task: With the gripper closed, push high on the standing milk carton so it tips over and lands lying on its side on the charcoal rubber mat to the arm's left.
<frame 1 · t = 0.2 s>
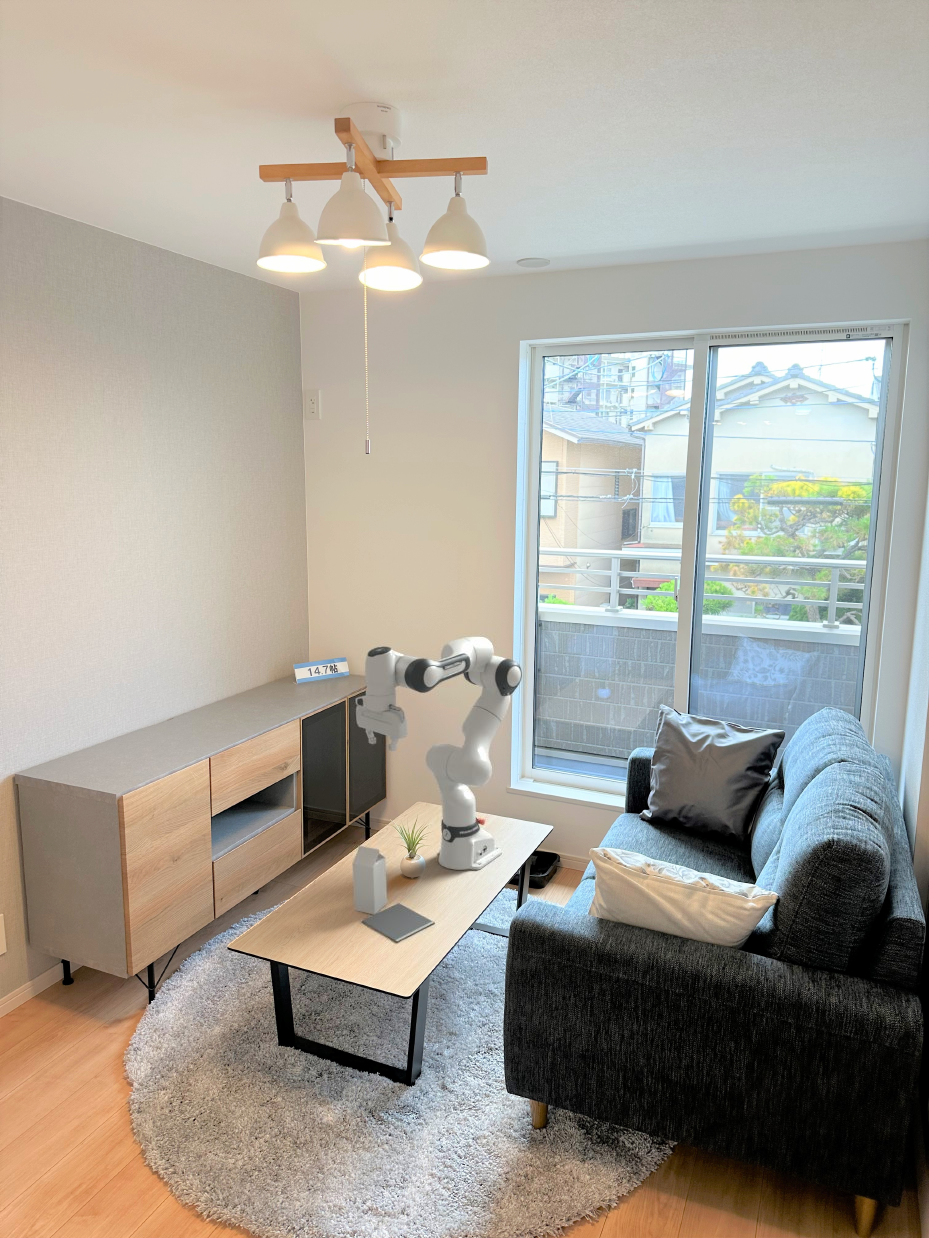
hand: (382, 746, 248), 47 cm above the table, fingers open, 8 cm apart
mat: (398, 922, 239), on the table
milk carton: (370, 907, 248), on the table
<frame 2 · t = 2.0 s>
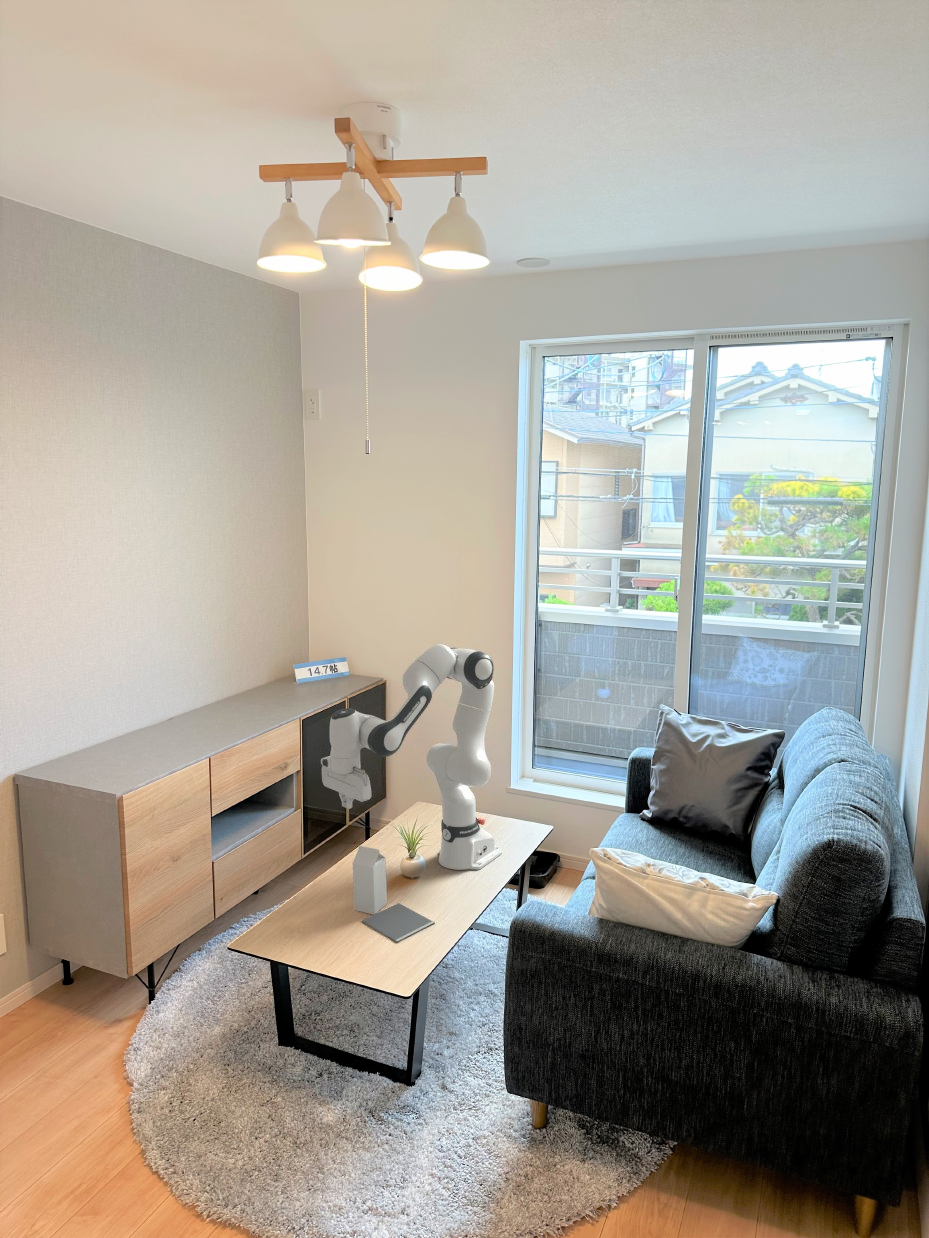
hand: (347, 807, 250), 29 cm above the table, fingers closed
nothing on the table moved.
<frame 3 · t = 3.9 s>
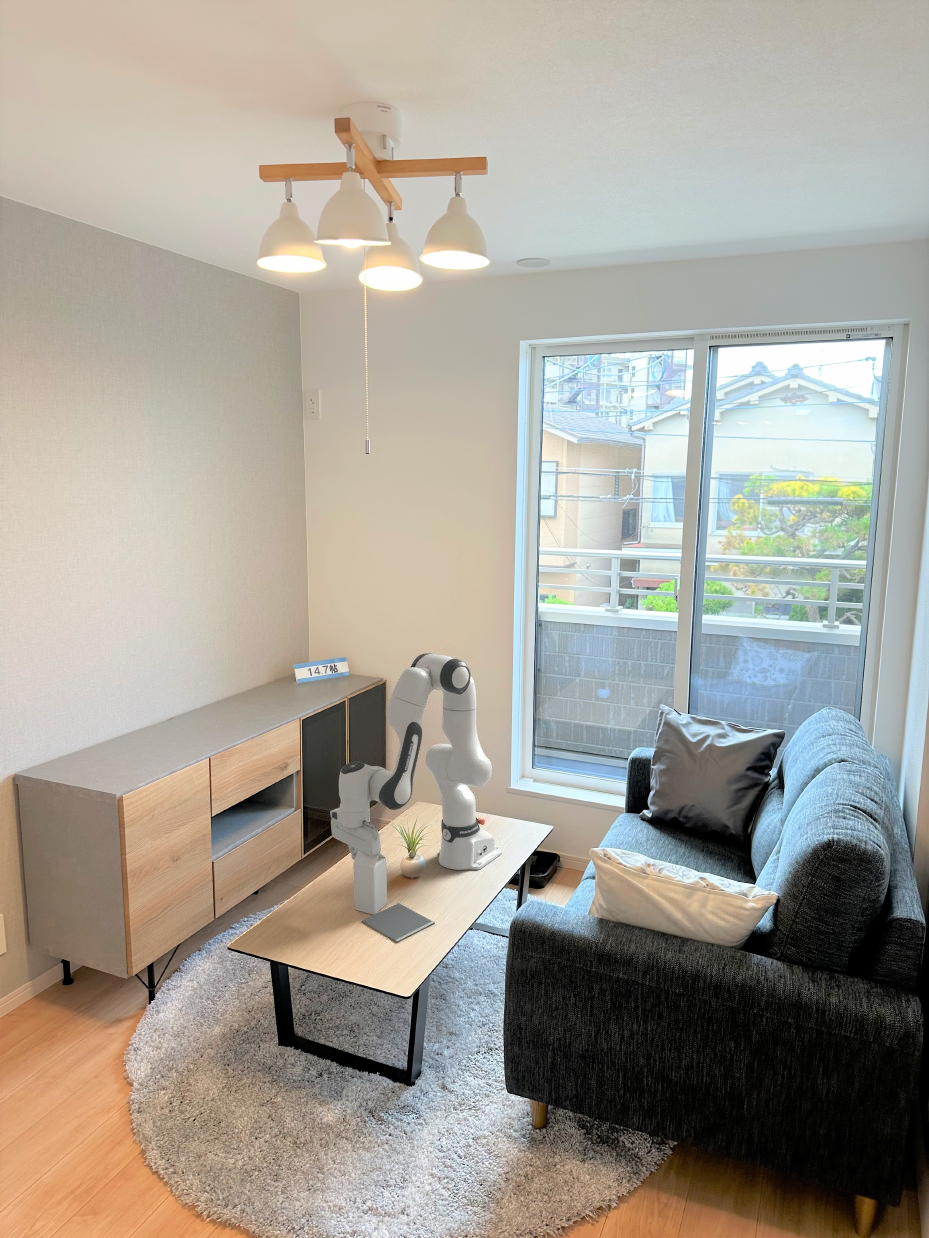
hand: (356, 859, 250), 13 cm above the table, fingers closed
milk carton: (370, 907, 248), on the table, touching gripper
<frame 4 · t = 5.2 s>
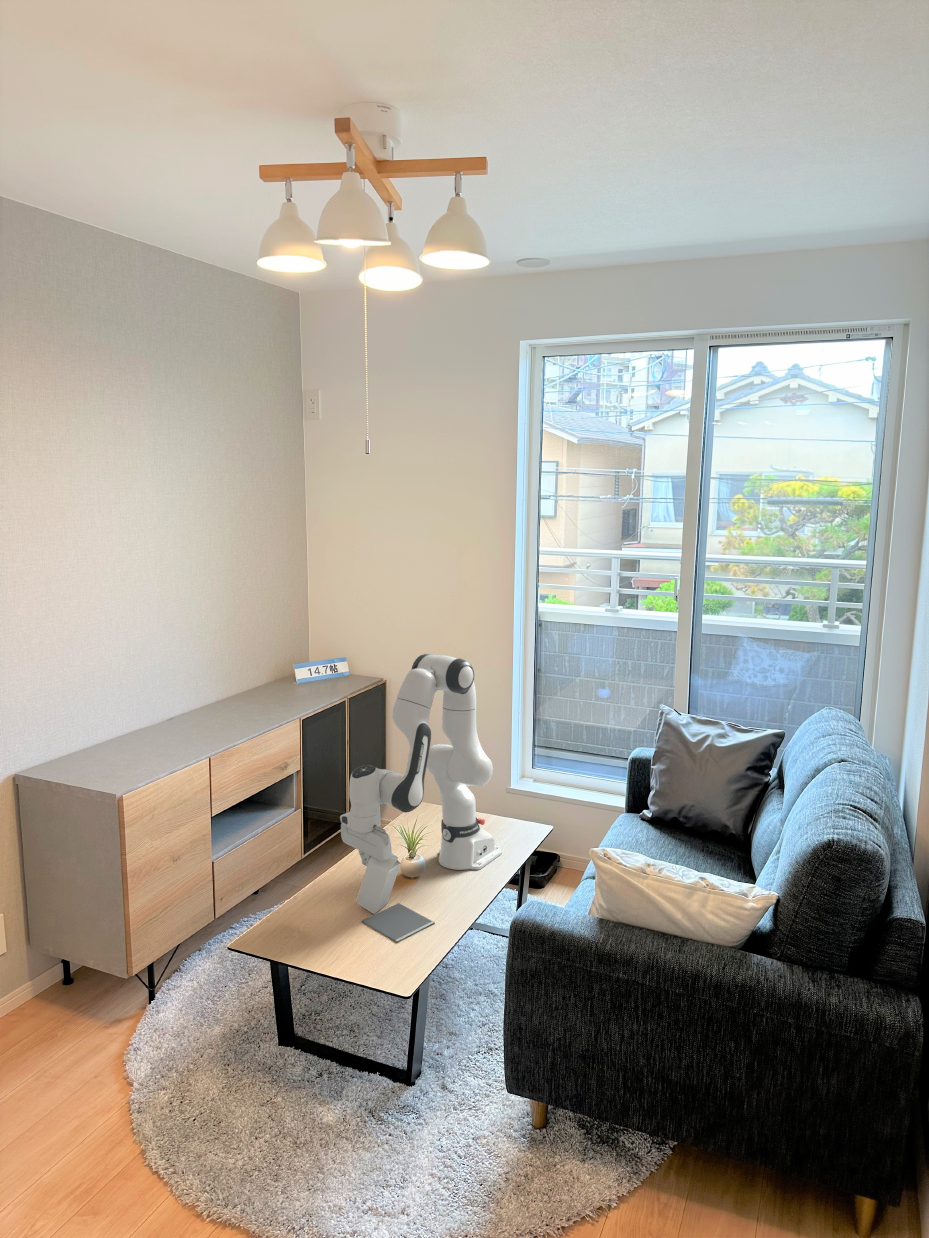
hand: (367, 865, 246), 13 cm above the table, fingers closed
milk carton: (371, 903, 247), point 1 cm above the table, touching gripper
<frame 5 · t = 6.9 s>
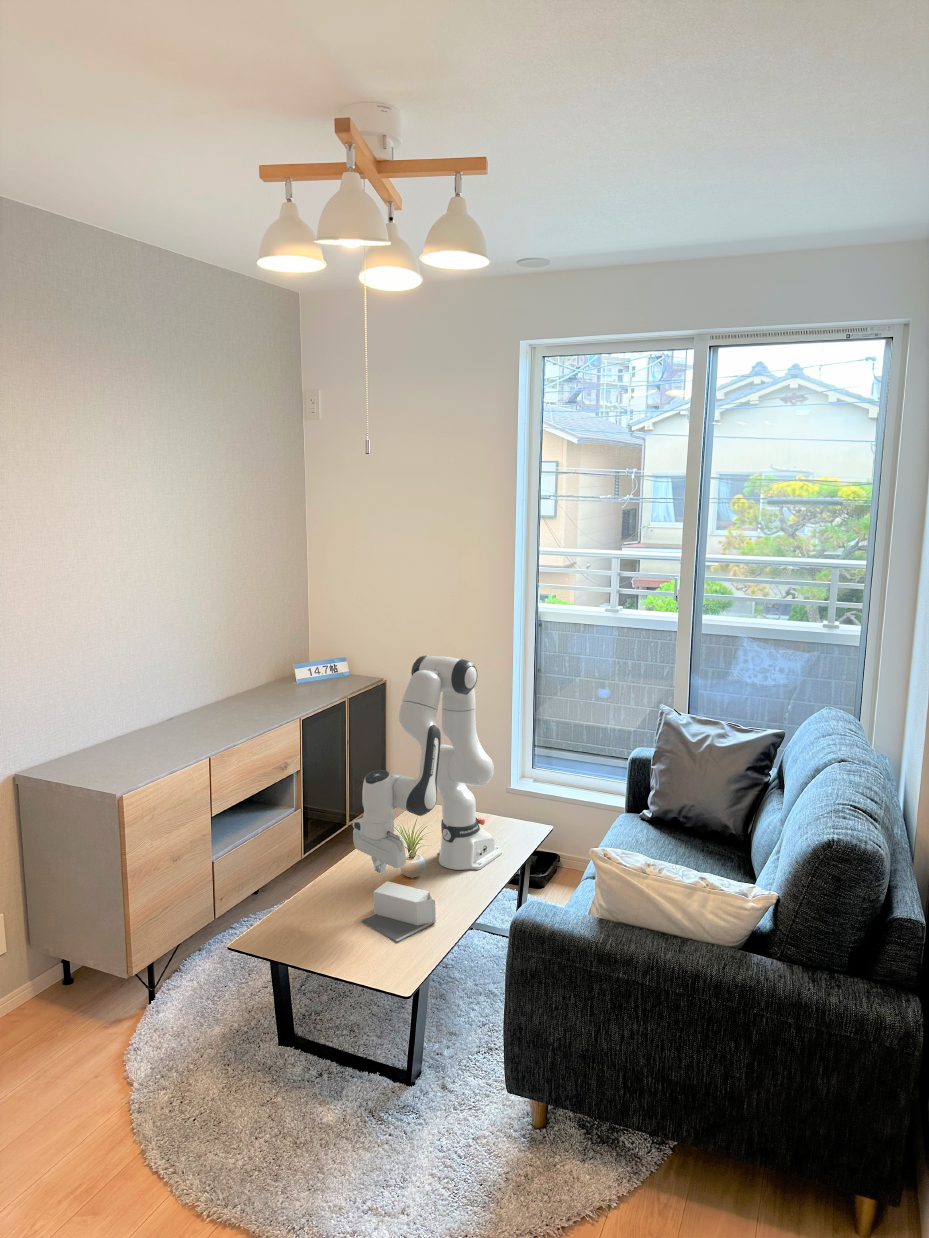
hand: (380, 871, 242), 13 cm above the table, fingers closed
milk carton: (379, 896, 246), point 4 cm above the table, touching mat
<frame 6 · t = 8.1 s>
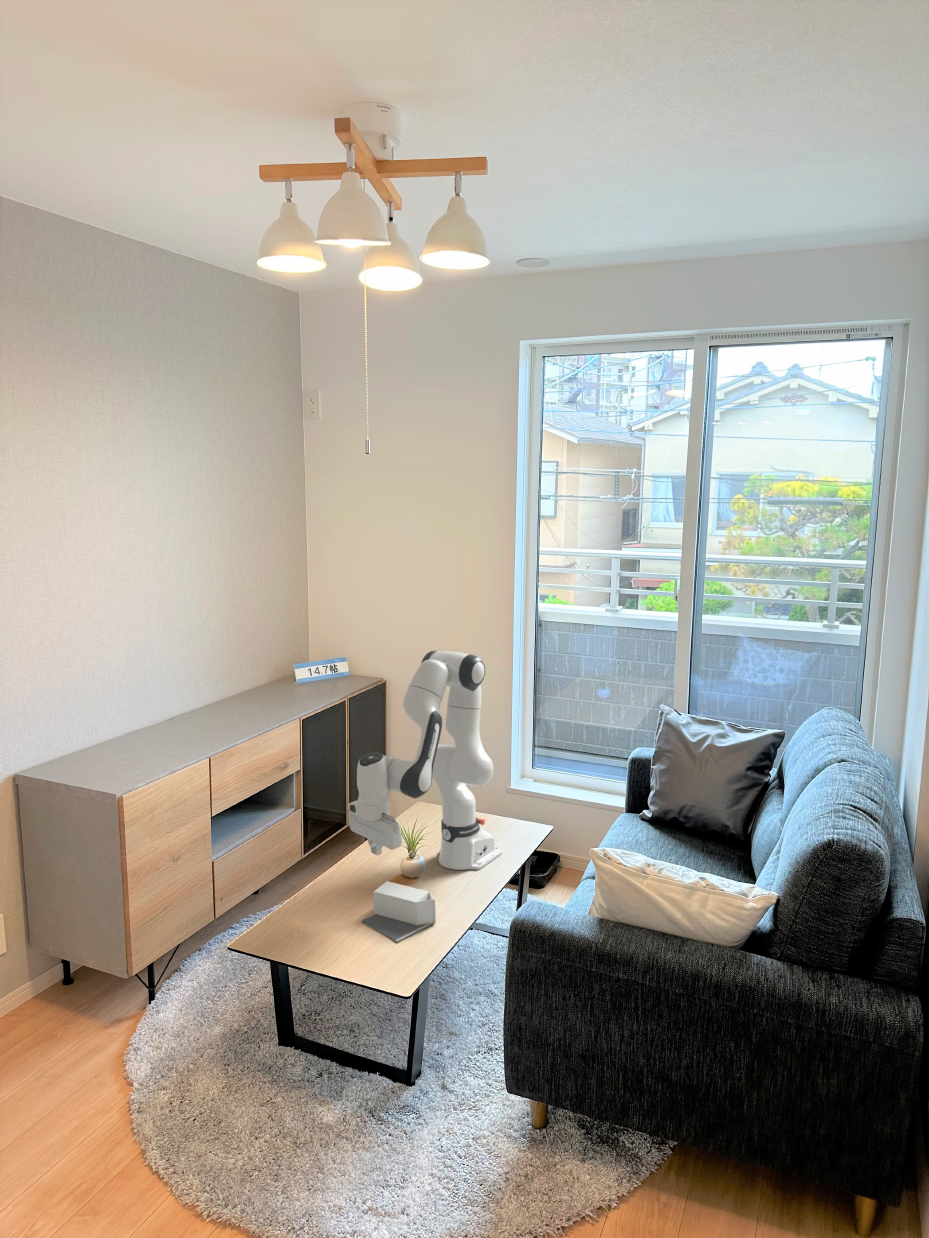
hand: (376, 853, 243), 18 cm above the table, fingers closed
nothing on the table moved.
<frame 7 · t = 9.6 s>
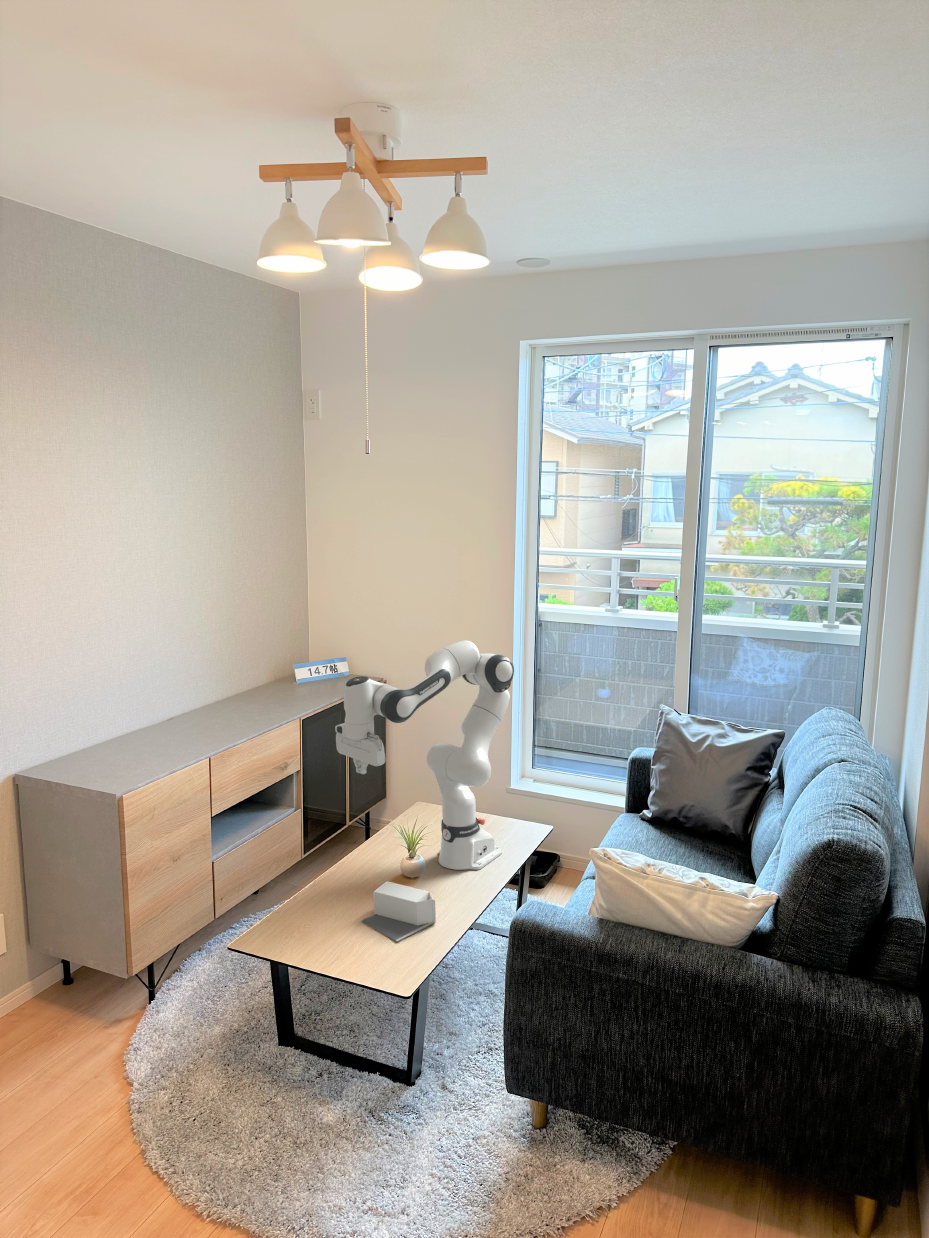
hand: (361, 772, 256), 37 cm above the table, fingers closed
nothing on the table moved.
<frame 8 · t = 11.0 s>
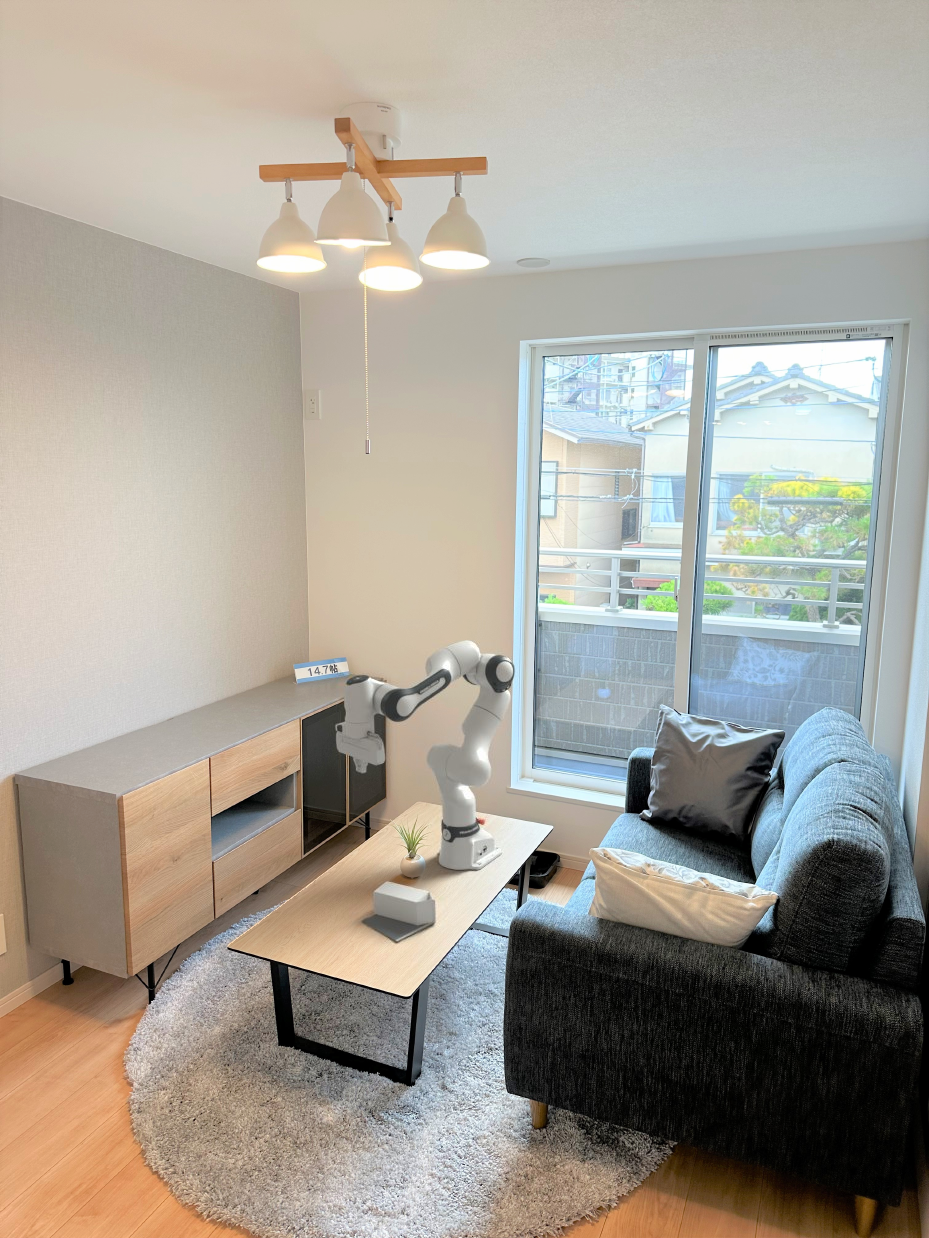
hand: (361, 771, 256), 37 cm above the table, fingers closed
nothing on the table moved.
at the end: milk carton tilted 90°; milk carton inside the target area (10.3 cm from its centre), point 3.9 cm above the table; the gripper is holding nothing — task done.
